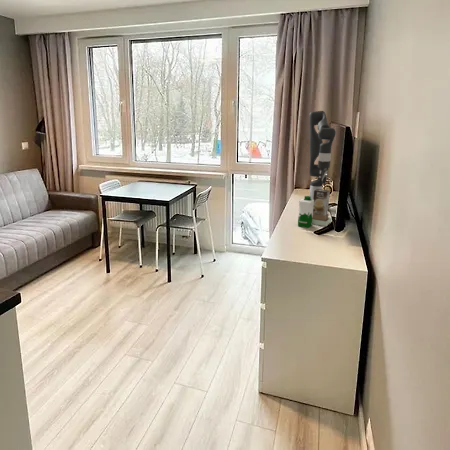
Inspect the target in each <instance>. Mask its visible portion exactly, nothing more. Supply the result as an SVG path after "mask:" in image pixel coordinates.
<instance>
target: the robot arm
mask: <svg viewBox="0 0 450 450" xmlns="http://www.w3.org/2000/svg"><path fill="white" fill-rule="evenodd" d="M308 121H309V122H308V123H309V166H308V167H309V170H308V171H309V172H308V173H309V176H310V177H314V178H315V177H316V178H317V179H314V180H312V181H310V183H309V195H308V196H311V199H312V200H313V197H314V190H316V189H322V190H323V185H326V184H327V178H328V177H329V169H330V167H331V157H332V155H331V153H332V146H333V142H334V139H335V137H336V129H335V128H333V127H330V125H329V123H328V118H327V114H326V112H325V110H317V111H316V110H315V111H310V113H309V115H308ZM315 126H317V130H318V132H317V130H316V128H315ZM324 140H328V141H327V142H324V143H323V141H324ZM317 158H318V159H317ZM316 160H317V162H318V164H315V163H316Z"/></svg>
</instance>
